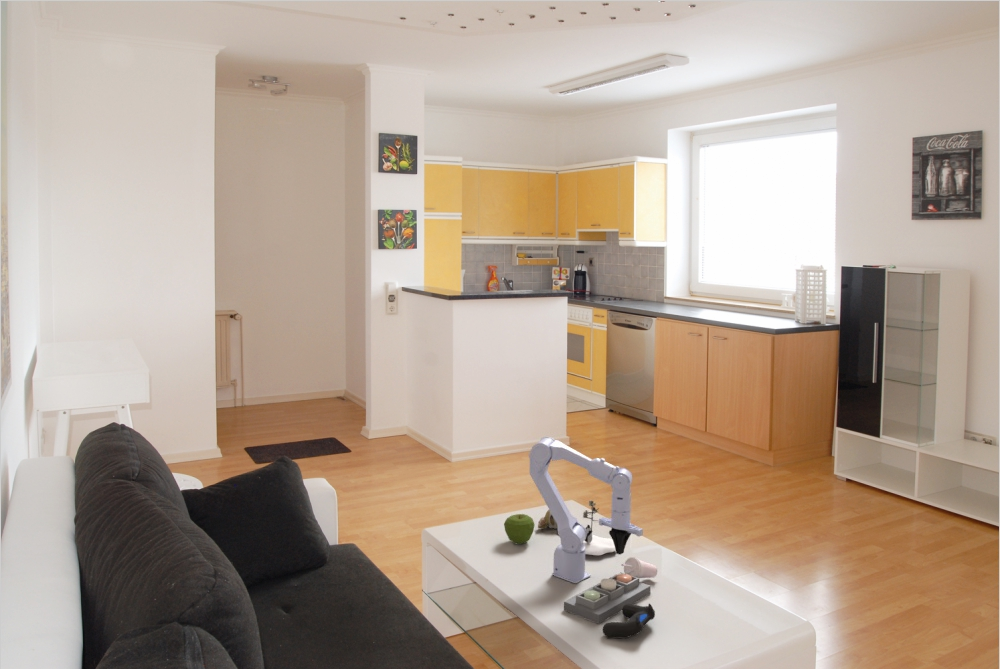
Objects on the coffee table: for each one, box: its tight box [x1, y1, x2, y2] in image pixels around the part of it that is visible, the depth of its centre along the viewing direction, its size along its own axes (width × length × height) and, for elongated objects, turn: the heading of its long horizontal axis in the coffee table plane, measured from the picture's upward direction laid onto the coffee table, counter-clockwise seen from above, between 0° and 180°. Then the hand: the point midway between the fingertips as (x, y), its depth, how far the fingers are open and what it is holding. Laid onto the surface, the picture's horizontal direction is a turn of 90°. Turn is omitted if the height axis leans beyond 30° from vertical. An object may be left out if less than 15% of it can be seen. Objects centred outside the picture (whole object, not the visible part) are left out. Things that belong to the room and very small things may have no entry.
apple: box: [503, 513, 535, 545], centre depth 269 cm, size 11×10×10 cm
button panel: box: [563, 572, 652, 625], centre depth 223 cm, size 12×26×4 cm, turn 137°
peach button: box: [617, 573, 632, 584], centre depth 229 cm, size 4×4×2 cm
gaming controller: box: [602, 603, 656, 639], centre depth 207 cm, size 17×6×10 cm
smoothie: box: [621, 557, 658, 579], centre depth 236 cm, size 6×6×14 cm
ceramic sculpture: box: [537, 509, 558, 530], centre depth 284 cm, size 11×9×15 cm
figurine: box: [582, 499, 616, 556], centre depth 264 cm, size 20×18×16 cm
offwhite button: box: [600, 578, 616, 592], centre depth 223 cm, size 4×4×2 cm
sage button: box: [584, 591, 600, 601], centre depth 217 cm, size 4×4×2 cm
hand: (619, 553), depth 236 cm, fingers closed
